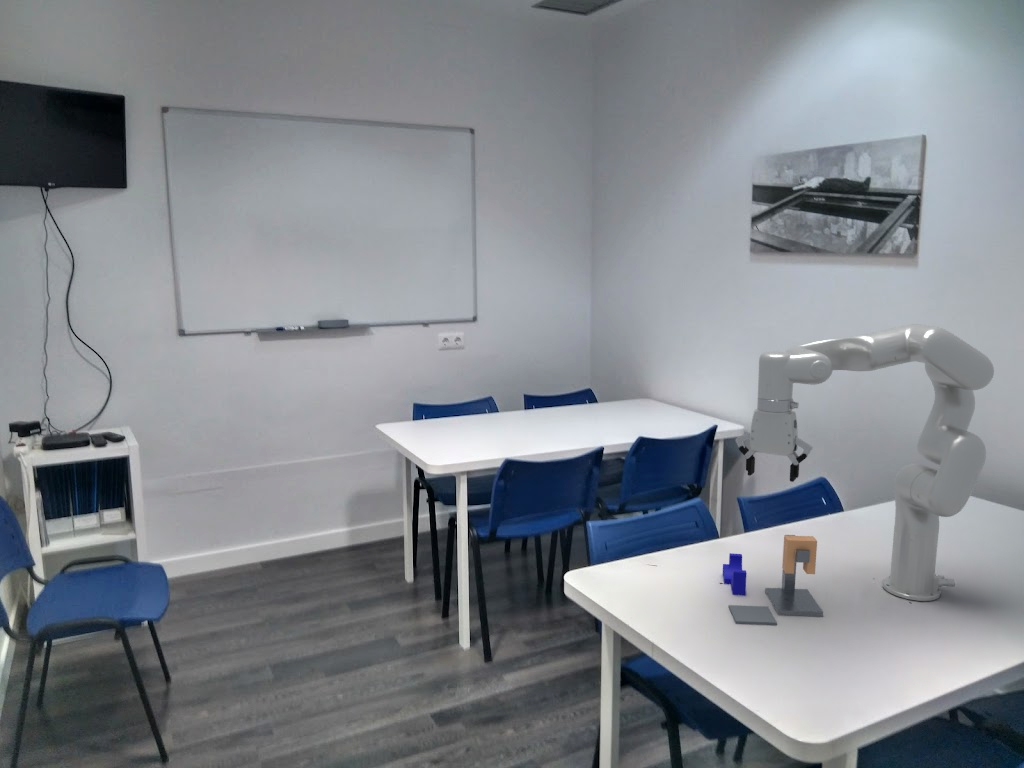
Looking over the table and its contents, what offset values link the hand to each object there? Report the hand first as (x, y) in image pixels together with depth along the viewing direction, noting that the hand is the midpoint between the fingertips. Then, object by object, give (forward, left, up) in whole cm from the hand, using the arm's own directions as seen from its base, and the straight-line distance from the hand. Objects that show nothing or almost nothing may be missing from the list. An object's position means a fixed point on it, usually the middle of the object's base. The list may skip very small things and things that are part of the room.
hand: (771, 477), depth 177 cm
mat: (+5, +10, -30) cm, 32 cm away
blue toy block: (+6, -7, -31) cm, 32 cm away
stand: (-6, +3, -30) cm, 31 cm away
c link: (-6, +5, -21) cm, 22 cm away
